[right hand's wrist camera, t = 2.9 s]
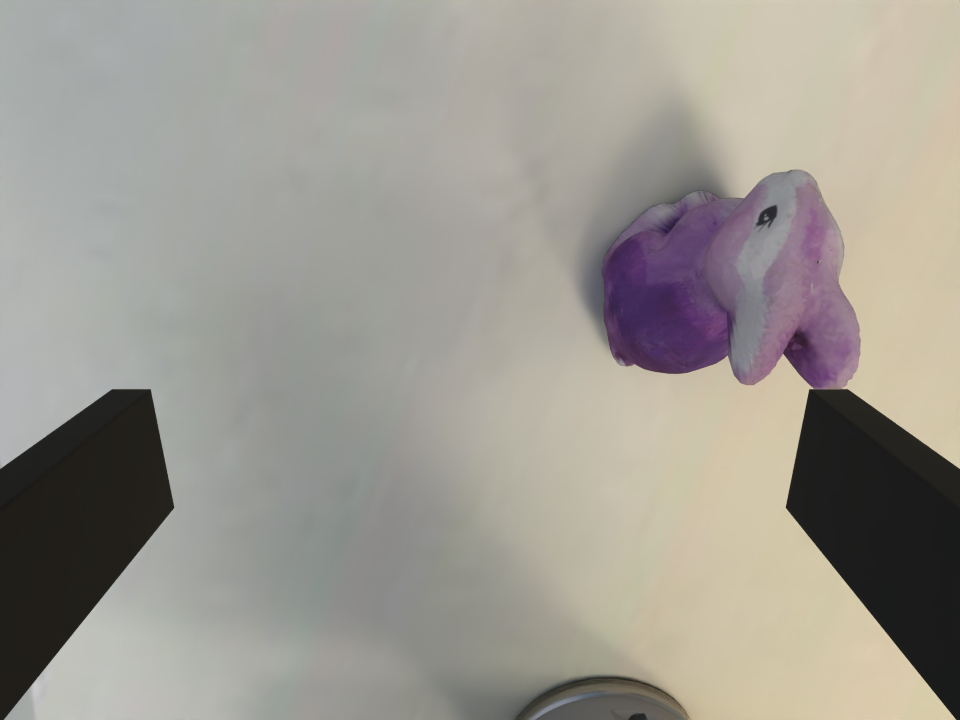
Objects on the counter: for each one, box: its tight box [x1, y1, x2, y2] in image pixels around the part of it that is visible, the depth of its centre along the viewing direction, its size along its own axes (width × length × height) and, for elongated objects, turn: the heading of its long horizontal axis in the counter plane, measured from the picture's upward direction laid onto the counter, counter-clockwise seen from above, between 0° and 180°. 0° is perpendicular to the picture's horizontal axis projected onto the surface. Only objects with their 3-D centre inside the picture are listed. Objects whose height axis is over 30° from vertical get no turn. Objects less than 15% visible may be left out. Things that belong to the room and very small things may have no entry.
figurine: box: [602, 170, 861, 389], centre depth 29 cm, size 9×10×15 cm
